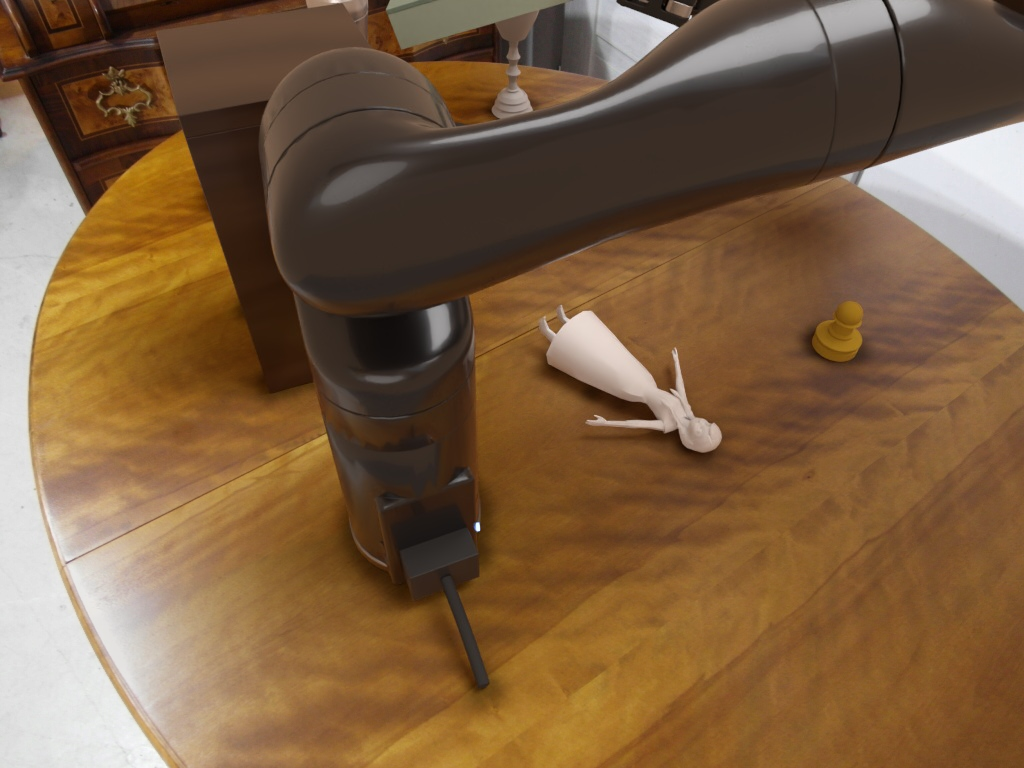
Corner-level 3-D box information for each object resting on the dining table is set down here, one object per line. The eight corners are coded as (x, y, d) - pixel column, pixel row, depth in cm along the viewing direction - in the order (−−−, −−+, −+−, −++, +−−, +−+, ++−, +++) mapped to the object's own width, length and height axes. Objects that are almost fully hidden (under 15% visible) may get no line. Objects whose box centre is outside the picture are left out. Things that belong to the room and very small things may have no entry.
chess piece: (812, 326, 71) (829, 284, 67) (856, 335, 70) (877, 293, 66) (811, 356, 68) (829, 315, 64) (857, 365, 67) (878, 324, 64)
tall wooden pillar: (419, 351, 68) (391, 77, 49) (269, 393, 64) (177, 115, 45) (380, 268, 75) (342, 2, 56) (244, 302, 71) (155, 30, 53)
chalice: (477, 121, 93) (475, -39, 80) (488, 93, 98) (487, -63, 84) (537, 127, 93) (545, -33, 79) (545, 99, 97) (554, -57, 84)
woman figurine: (596, 269, 68) (768, 388, 61) (589, 305, 72) (750, 421, 64) (502, 335, 63) (679, 474, 55) (499, 370, 66) (665, 505, 59)
